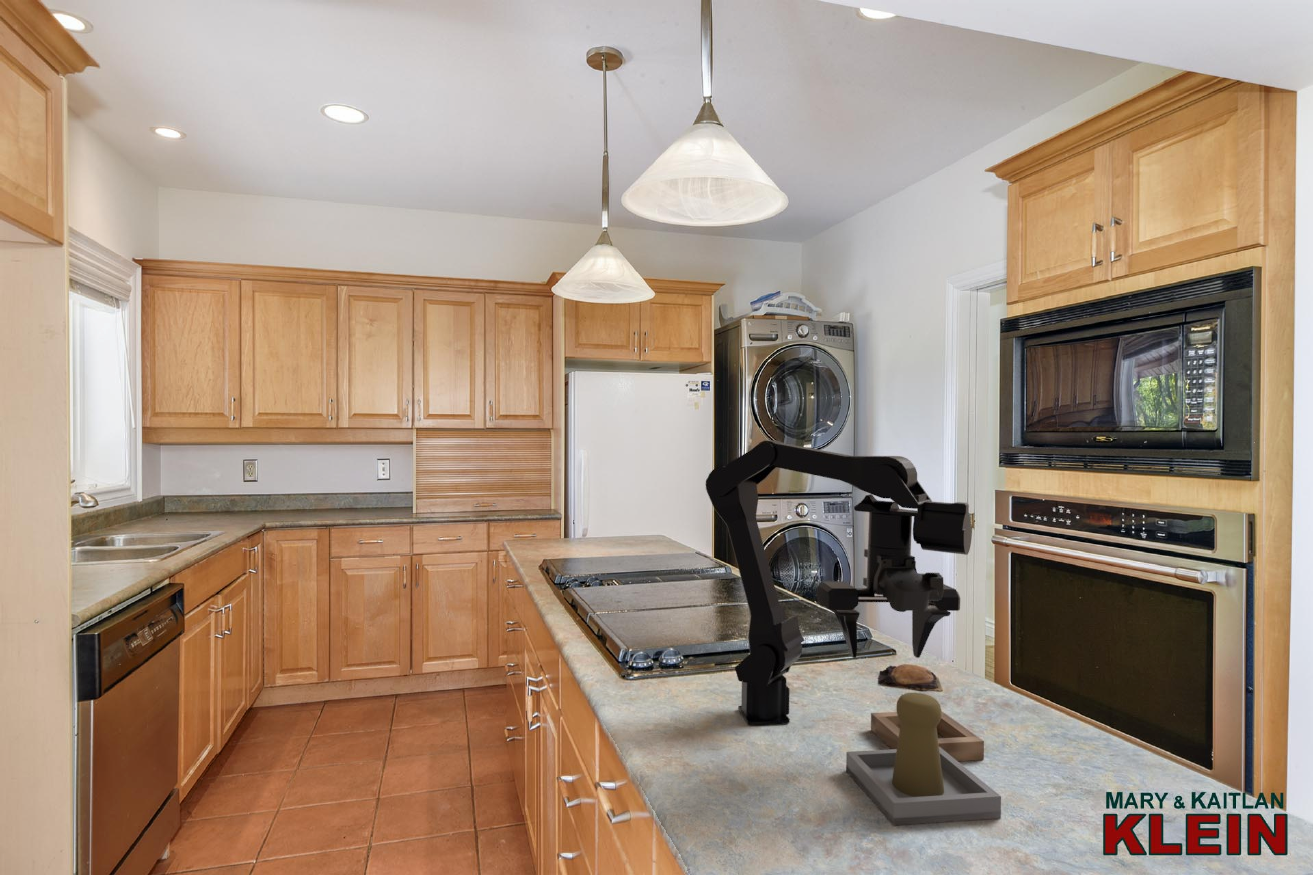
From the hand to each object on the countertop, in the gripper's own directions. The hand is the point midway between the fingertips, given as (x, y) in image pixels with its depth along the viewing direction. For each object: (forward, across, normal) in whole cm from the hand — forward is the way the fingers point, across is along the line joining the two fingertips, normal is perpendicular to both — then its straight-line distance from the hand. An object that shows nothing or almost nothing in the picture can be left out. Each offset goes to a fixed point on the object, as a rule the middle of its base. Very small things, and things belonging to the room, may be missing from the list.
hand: (885, 656), depth 100 cm
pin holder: (+12, +6, 0) cm, 14 cm away
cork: (+12, -1, -13) cm, 17 cm away
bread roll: (+14, +16, +26) cm, 33 cm away
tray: (+12, -1, -13) cm, 18 cm away
